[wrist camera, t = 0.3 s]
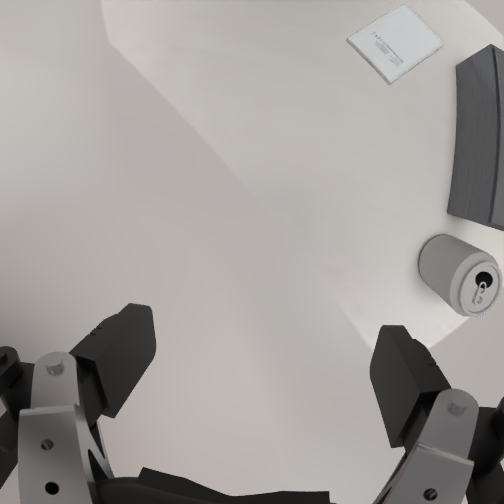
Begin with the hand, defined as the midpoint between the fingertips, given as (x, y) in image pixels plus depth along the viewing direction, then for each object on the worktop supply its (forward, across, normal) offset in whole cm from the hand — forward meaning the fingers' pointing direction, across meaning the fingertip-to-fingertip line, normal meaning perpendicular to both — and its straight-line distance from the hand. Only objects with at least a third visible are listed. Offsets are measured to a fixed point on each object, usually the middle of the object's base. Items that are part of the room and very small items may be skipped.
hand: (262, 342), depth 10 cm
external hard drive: (+29, -15, -26) cm, 42 cm away
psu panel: (+28, -25, -13) cm, 40 cm away
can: (+28, -23, +4) cm, 36 cm away
